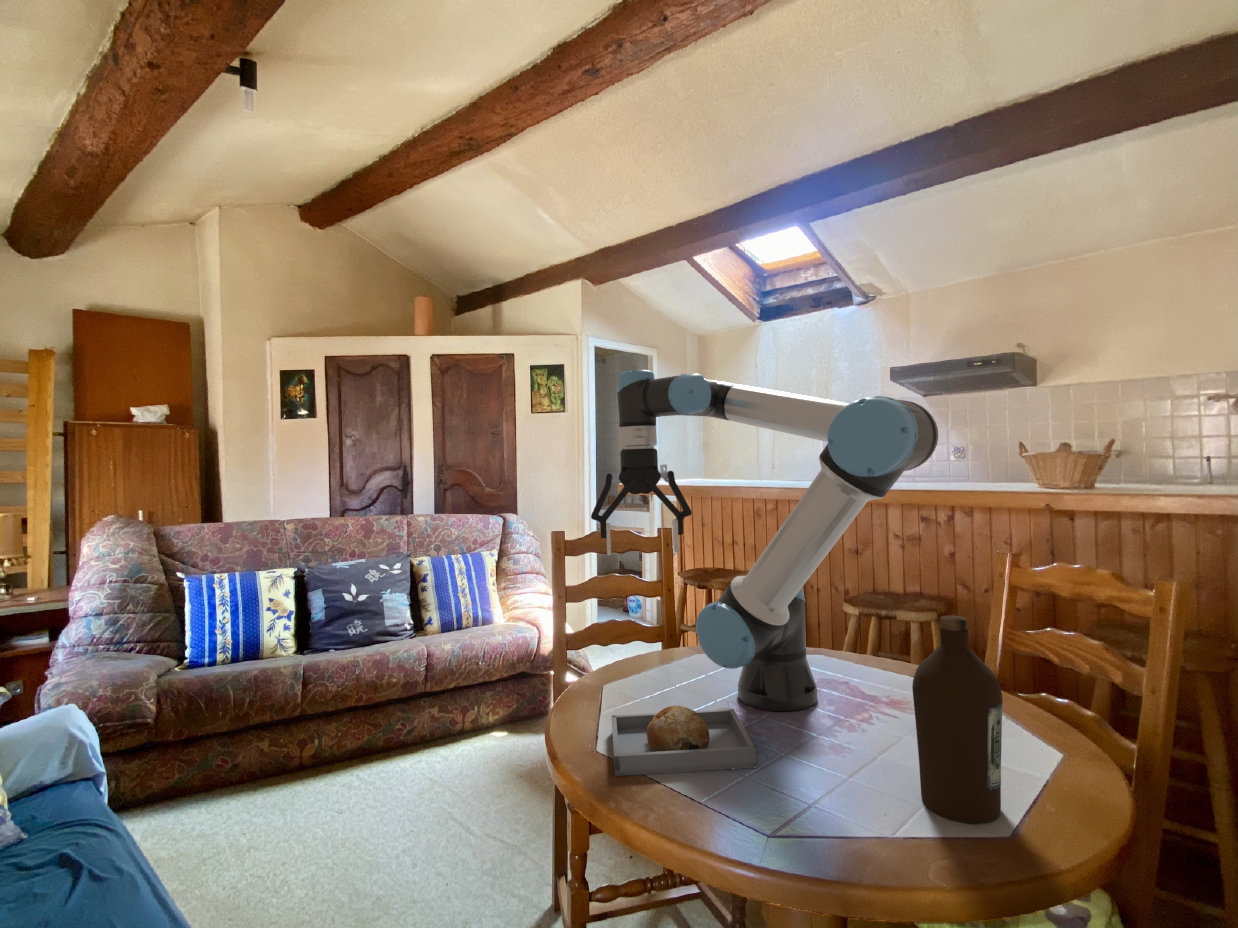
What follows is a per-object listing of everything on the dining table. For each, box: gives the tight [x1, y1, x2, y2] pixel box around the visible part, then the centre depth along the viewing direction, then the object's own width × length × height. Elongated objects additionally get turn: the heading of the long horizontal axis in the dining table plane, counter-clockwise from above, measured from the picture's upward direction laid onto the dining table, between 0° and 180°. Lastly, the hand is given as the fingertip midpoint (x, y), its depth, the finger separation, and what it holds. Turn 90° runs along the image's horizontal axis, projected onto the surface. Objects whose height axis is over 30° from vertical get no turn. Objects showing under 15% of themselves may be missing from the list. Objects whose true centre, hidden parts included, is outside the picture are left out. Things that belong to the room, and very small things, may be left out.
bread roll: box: [646, 705, 710, 752], centre depth 105 cm, size 10×10×8 cm
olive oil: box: [911, 615, 1004, 824], centre depth 86 cm, size 11×11×25 cm
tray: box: [611, 708, 757, 777], centre depth 106 cm, size 22×16×3 cm
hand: (642, 553), depth 130 cm, fingers open, 13 cm apart
